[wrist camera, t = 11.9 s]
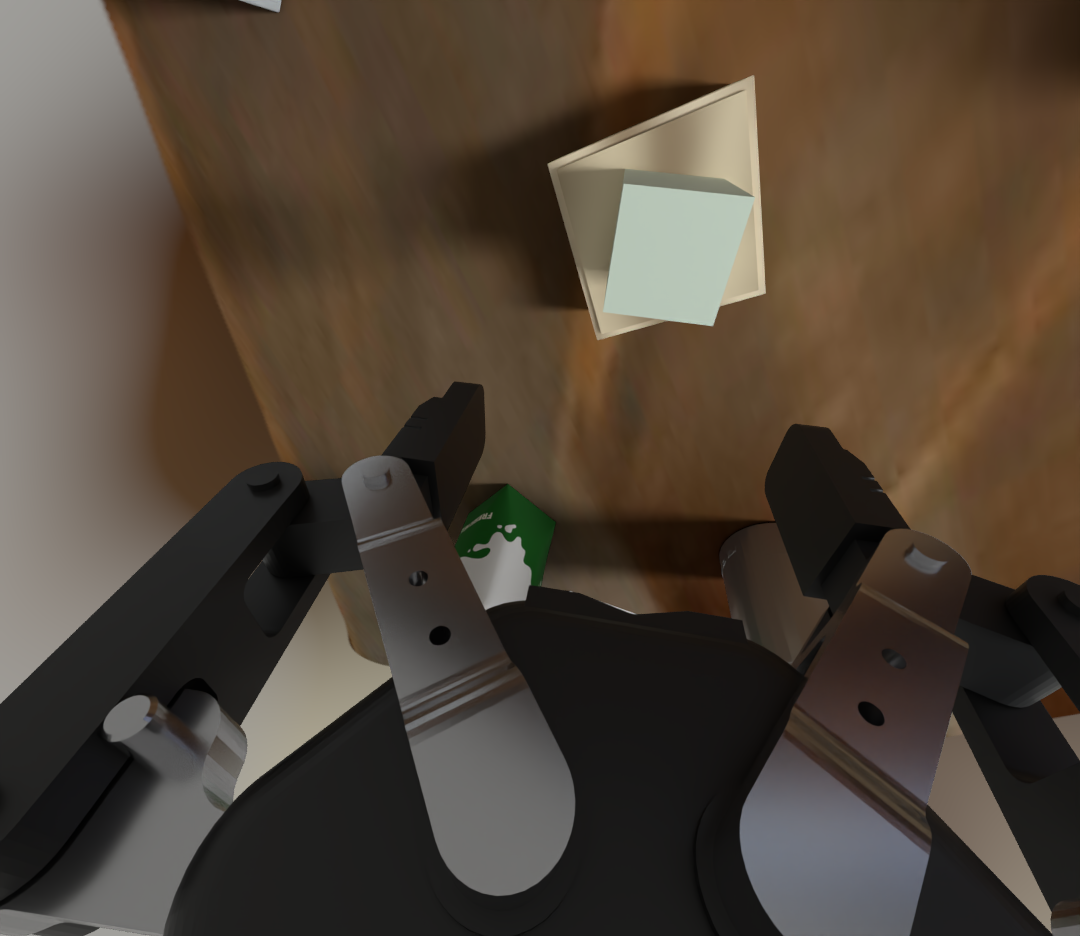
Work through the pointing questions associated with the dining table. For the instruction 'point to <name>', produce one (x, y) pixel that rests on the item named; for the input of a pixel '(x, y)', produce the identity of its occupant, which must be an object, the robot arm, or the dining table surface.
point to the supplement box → (266, 4)
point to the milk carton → (505, 547)
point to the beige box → (669, 147)
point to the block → (674, 245)
